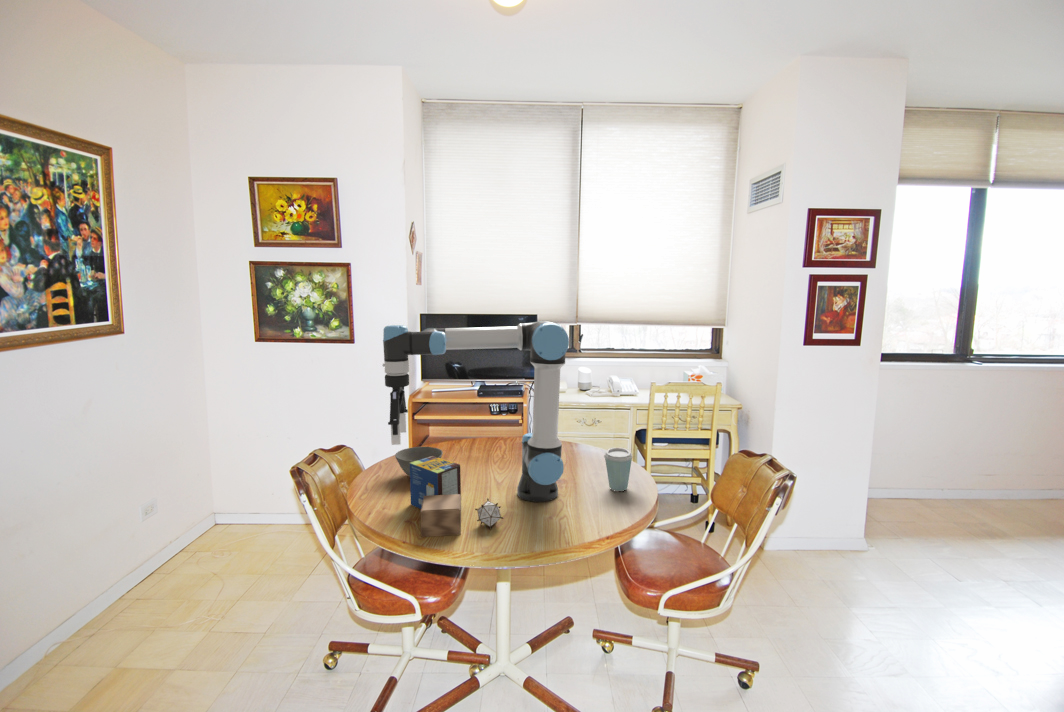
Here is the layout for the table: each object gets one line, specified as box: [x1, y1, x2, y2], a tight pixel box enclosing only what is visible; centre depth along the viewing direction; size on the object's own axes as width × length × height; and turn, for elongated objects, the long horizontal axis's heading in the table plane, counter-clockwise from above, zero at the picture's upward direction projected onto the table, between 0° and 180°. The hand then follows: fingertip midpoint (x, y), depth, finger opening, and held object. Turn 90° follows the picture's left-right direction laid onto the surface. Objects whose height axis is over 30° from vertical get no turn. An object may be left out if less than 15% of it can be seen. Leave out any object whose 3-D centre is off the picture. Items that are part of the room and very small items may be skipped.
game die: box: [474, 497, 504, 531], centre depth 159 cm, size 9×8×10 cm
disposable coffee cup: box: [603, 447, 633, 492], centre depth 189 cm, size 11×11×15 cm
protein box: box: [409, 456, 462, 510], centre depth 173 cm, size 10×15×16 cm
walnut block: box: [420, 493, 462, 538], centre depth 158 cm, size 12×12×8 cm
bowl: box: [394, 446, 444, 478], centre depth 201 cm, size 19×19×10 cm
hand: (399, 438), depth 161 cm, fingers open, 13 cm apart
